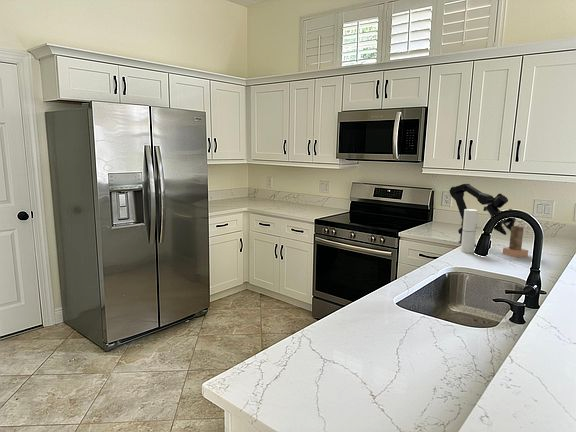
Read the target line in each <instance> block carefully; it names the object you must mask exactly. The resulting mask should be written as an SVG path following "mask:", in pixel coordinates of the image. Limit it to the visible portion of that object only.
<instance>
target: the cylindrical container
mask: <svg viewBox="0 0 576 432" xmlns="http://www.w3.org/2000/svg"><path fill="white" fill-rule="evenodd" d="M478 211H479V210H478V209H474V208H473V209H471V208H467V209H464V220H463V232H462V243H460V244H461V247H460V251H461V252H462V253H466V254H474V253H475V246H476V245H475V243H476V232H477V228H476V227H477V225H476V224H478V223H477V222H478V221H477V220H478ZM473 252H474V253H473Z"/></svg>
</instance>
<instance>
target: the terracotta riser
mask: <svg viewBox="0 0 576 432" xmlns="http://www.w3.org/2000/svg"><path fill="white" fill-rule="evenodd" d="M502 255H506V256H509V257H513V258H521V257H522V258H526V257H528V256H529V250H528V249H525V248H522V247H521V250H514V249H509V246H508V247H503V248H502Z"/></svg>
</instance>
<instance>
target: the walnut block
mask: <svg viewBox="0 0 576 432" xmlns="http://www.w3.org/2000/svg"><path fill="white" fill-rule="evenodd" d="M524 228H525V227H524V226H519V225H514V226H511V231H510V237H509V246H508V247H509V249H514V250H521V248H522V247H523V246H522V244H523V237H524Z"/></svg>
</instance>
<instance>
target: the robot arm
mask: <svg viewBox="0 0 576 432" xmlns="http://www.w3.org/2000/svg"><path fill="white" fill-rule="evenodd" d="M466 192H467V193H468V194H470V195H471V196H473V197H474V198H476V200H477V202H478V203H480V205H482V206H483V205H484V206H483V212H487V213H488V214H489V215H490V218H491V219H493V218H492V217H493V216H494V215H496V214H498V213H500V212H503V210H500V209H501V208H502V207H503V206H504V205H505V204H507V203H508V202H509V198H508V197H507V196H505V195H504V194H502V193H498V194H497V195H496V196H495V197H494V196H493V195H490V194H488V193H486V192H485V193H484V192H482V191H480V190H478V189H477V188H475V187H474V186H472V185H471V184H470V183H462V184H459V185H456V186H452V187H450V189H449V195H450V196H451V198H453V200H455V203H456V206H457V209H458V212H459V215H460V218H461V227H460V228H459V229H458V234H460V237H459V240H458V243H460V244H461V243H462V232H463V220H464V209H468V208H467V205H466V202H465V198H464V197H465V193H466ZM507 210H513V209H512V208H509V209H507ZM507 210H505V211H507ZM516 221H517V219H516V218H515V217H514V218H509V217H508V218H507V219H504V220H501V221H500V222H498V223H497V225H496V226H495V227H494V229H493V230H495V231H496V232H499V233H501V234H502V235H504V236H506V235H507V232H506V230H505V228H506V229H507V230H509V231H510V232H511V226H515V222H516ZM477 224H478V223H477ZM477 224H476V229H477ZM503 226H504V227H505V228H504V227H503Z"/></svg>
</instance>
